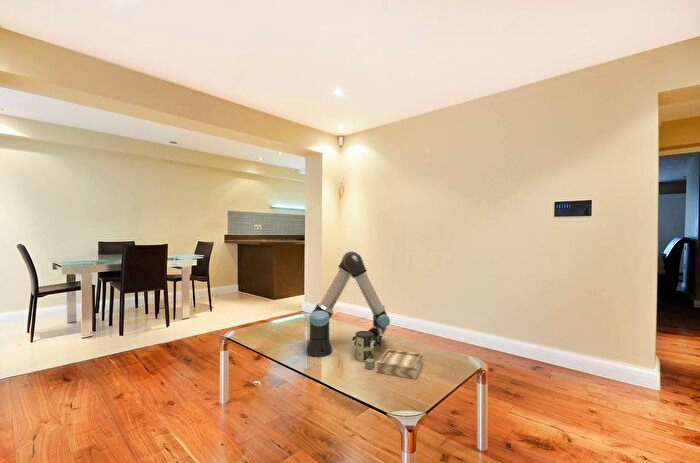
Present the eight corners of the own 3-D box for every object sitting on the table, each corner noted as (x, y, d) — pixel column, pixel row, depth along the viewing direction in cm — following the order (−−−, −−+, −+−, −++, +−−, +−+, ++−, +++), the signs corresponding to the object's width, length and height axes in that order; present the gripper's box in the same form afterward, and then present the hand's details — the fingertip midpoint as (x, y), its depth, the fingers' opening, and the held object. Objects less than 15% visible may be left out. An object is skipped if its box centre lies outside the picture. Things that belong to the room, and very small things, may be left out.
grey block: (365, 368, 166) (365, 361, 166) (367, 365, 170) (367, 358, 170) (372, 369, 165) (372, 362, 165) (374, 366, 168) (374, 359, 168)
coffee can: (374, 355, 184) (374, 331, 184) (372, 362, 174) (372, 336, 174) (357, 353, 186) (357, 330, 186) (353, 360, 176) (353, 335, 176)
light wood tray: (376, 372, 162) (376, 362, 162) (387, 357, 180) (387, 348, 180) (415, 379, 154) (415, 368, 154) (422, 363, 173) (422, 353, 173)
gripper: (391, 342, 193) (381, 355, 172) (357, 337, 201) (343, 349, 181) (391, 329, 193) (381, 341, 172) (357, 325, 201) (343, 336, 181)
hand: (361, 345), depth 176 cm, fingers closed on coffee can, 10 cm apart
